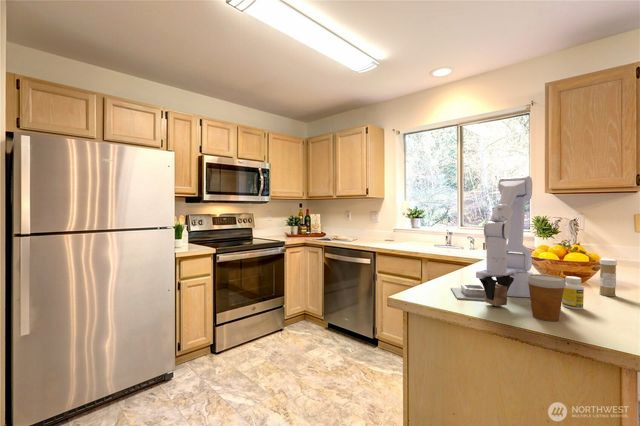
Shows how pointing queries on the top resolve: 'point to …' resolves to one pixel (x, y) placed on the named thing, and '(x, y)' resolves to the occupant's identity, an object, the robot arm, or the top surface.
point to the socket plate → (461, 296)
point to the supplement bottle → (573, 293)
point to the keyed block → (498, 296)
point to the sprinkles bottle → (607, 277)
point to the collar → (473, 290)
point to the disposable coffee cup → (546, 296)
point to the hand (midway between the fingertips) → (496, 298)
